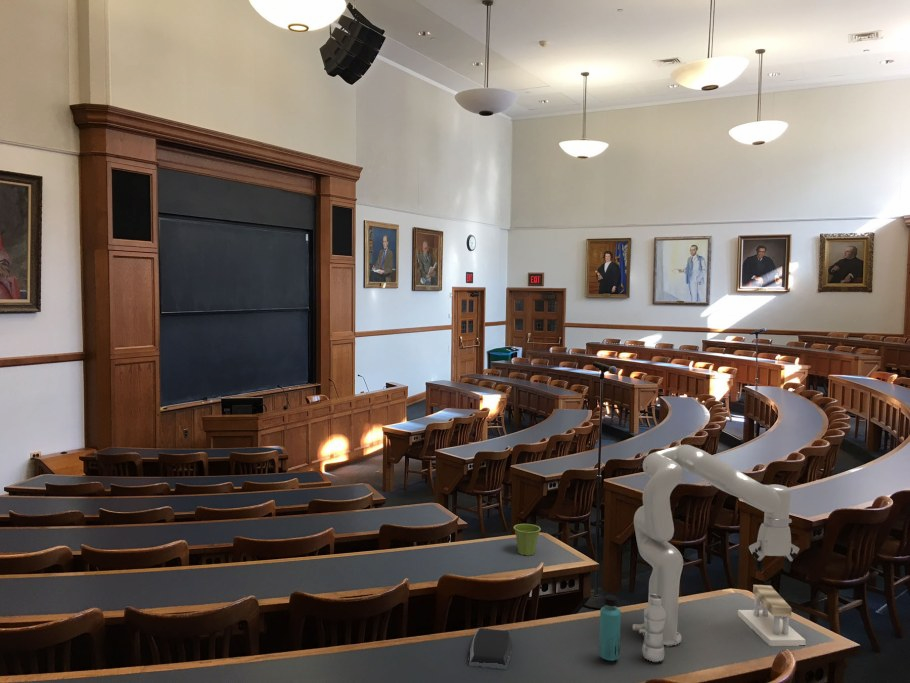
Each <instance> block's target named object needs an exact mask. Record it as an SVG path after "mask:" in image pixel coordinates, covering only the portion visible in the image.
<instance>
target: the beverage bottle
mask: <svg viewBox="0 0 910 683" xmlns="http://www.w3.org/2000/svg"><path fill="white" fill-rule="evenodd" d="M618 602H619V601H618V597H617V596H616V595H614V594H607V595H604V599H603V603H604V605H603V607H601V608H600V614H599V617H600V618H599V634H598V635H599V639H598V643H599V644H598V655H599V657H600V658H602V659H603V660H607V661H615V660H616V661H617V660H618V659H619V658H620V652H621V616H622V612H621V610H620V609H619V608H618V607H617V606H618V605H619V603H618Z"/></svg>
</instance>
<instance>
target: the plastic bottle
mask: <svg viewBox="0 0 910 683" xmlns="http://www.w3.org/2000/svg"><path fill="white" fill-rule="evenodd" d="M648 598H649V604H648V603H647V606H645V608H644V610H643V619H644V620H643V622H644V621H645V637H643V644H642V650H641V652H642V653H641V654H642V656H643V658H644V659H647V660H646V661H648V660H649V662H651V661H652V662H651V663H660V662H662V661H663V660H664V657H665V654H666V652H665V646H663V630H664V623H665V618H666V614H665V611H664V609H663V607H662V606H661V604H662V597H661V596H659V595H655V594H652V595H650V596H649V595H648ZM659 661H660V662H659Z"/></svg>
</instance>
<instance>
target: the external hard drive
mask: <svg viewBox="0 0 910 683" xmlns="http://www.w3.org/2000/svg"><path fill="white" fill-rule="evenodd" d="M511 640H512V637H511V635H510V632H509V630H502V629H493V628H483V627H482V628H481V627H478V628H477V629H476V632H475V634H474V636H473V639H472V641H471V645H470V648H469V652H470V661H471V662H479V663H484V662H485V663H498V664H503V665H506V663H507V659H508V658H509V656H510V651H511Z"/></svg>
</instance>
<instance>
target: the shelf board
mask: <svg viewBox="0 0 910 683" xmlns="http://www.w3.org/2000/svg"><path fill="white" fill-rule="evenodd" d="M752 586H753V588H752V594H753V595H754V597H755V596H756V597H757V598H758V600H759V601H760V604H762V606H763V605H764V607H765V608H766V609H767V610H768V611H769V613H770V614H771V615H772V616H780V617H782V618H783V617H789V618H791V617H792V607H791V606H790V605H789V603H788V602H786V600H785V599H784V598H783V597H782V596H781V595H780V594H779V593H778V592H777V591H776V589H774V587H773V586H772V585H764V584H753V585H752Z"/></svg>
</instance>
